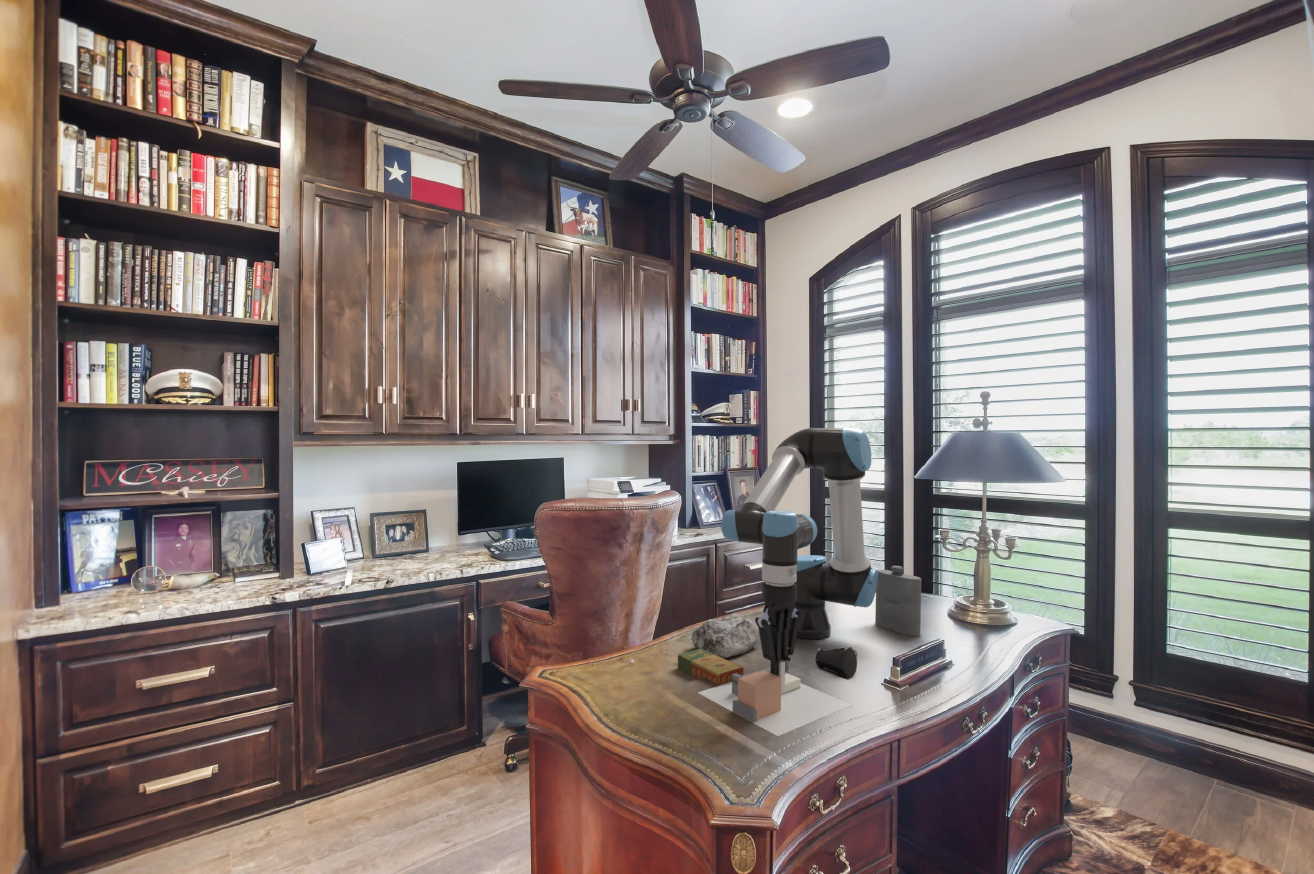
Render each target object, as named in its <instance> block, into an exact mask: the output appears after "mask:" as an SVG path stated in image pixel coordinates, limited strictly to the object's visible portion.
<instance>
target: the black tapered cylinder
mask: <svg viewBox="0 0 1314 874" xmlns="http://www.w3.org/2000/svg"><path fill="white" fill-rule="evenodd" d="M815 664H816V667H817V668H818V669H819V670H820V669H826V670H829V671H831V672H833V673H835V674H837V675H839V676H841V677H842V678H845V679H851V678H853V677H854V675H856V672H857V668H858V653H857V651H856V650H854V649H853V648H852V647H850V646H843V647H839V648H833V649H827V650H824V649H823V648H821V647H820V648H818V650H817V651H816V653H815Z"/></svg>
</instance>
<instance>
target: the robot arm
mask: <svg viewBox="0 0 1314 874" xmlns="http://www.w3.org/2000/svg"><path fill="white" fill-rule="evenodd" d="M773 451H774V452H773V453H772V456H771V462H770V464H769V465H768V466H767V467H766V469H765V471H764V472H763V474H762V476H760V478H759V480H758V481H757V483H756V484H755V486H754V488H753V489H752V490H751V492H750V493H749V495H748V496H747V498H746V500H745V501H744V502H743V504H741V506H740V508H739V509H738V510H737V509H728V510H726V511H725V512H724V513H723V515H722V517H721V521H720V529H721V533H722V536H723V537H724V538H725V539H726V540H730V541H734V542H737V543H746V544H747V543H749V544H755V545H756V544H758V545H762V559H761V560H762V561H761V562H762V563H761V564H762V565H761V566H762V567H761V580H763V582H762V584H761V599H762V601H764V607H763V609H762V610H763V613H762V615H761V616H760V617H758V616H757V617H755V619H754V623H755V624H756V627H757V628H758V633H759V634H758V635H759V640H760V644H761V645H760V646H761V650H762V656H763V658H764V659H765V660H767V661H770V667H771V671H770V673H772V674H774V675H776V676H779V677H781V678H782V679H781V692H784V691H785V674H786V661H789V662H791V659H792V658H791V657H792V656H793V655H794V654H795V653H794V652H795V646H796V641H797V640H796V639H798V638H799V639H808V640H809V639H810V640H818V639H825V638H828V637H829V636H831V633H832V629H831V628H832V626H831V624H830V621H829V617H828V613H827V609H826V602H828V603H836V604H840V605H846V606H852V607H853V608H857V607H858V608H869V607H870V606H871V605H872V604H873V602H874V599H875V598H876V589H877V583H878V571H877V570H878V569H877V568H875V567H872V566H871V564H872V563H871V560H870V558H869V557H867V555H865V543H864V542H865V539H864V527H863V525H864V524H863V523H864V522H863V508H862V492H861V491H862V489H861V480H862V479H863V478H864V477H865V476H866V471H869V470H870V469H871V465H872V447H871V443H870V440H869V438H868V435H867V434H866V433H865V431H863V430H862V429H860V428H849V427H822V428H821V427H820V428H819V427H809V428H804V429H801V430H798V431H797V432H795V433H793V434H791V435H790V436H788V437H786V438H785V439H784V440H783V441H781V442H780V443H779V445H778V446H777V447H776V449H774V450H773ZM805 469H820V470H822V471H821V472H822V477H823V478H824V479H825V480H826V481H827V482H828V491H829V504H830V506H829V507H830V516H831V517H830V518H831V530H832V531H831V532H832V544H833V556H832V557H831V558H830V559H829V561H827V558H826V556H824V555H812V554H811V555H800V556H798V551H799V550H800V549H803V548H806V547H808V546H810V544H811V543H813V542H814V541H815V539H816V538H817V535H818V526H817V523H816V522H815V521H814V519H813V518H812V517H811V516H809V515H806V514H803V513H802V514H799V513H795V512H794V511H790V510H789V511H788V510H776V509H777V507H778V505H779V504H780V502H781V500H782V498H783V497H784V496H785V493H786V492H787V490H788V489H789V487H790V485H791V484H792V482H793V480H794V479H795V477H797V476H798V475H800V474H801V473H802V472H803V471H804V470H805ZM790 656H791V657H790Z"/></svg>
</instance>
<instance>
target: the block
mask: <svg viewBox="0 0 1314 874" xmlns="http://www.w3.org/2000/svg"><path fill="white" fill-rule="evenodd" d="M781 679H782V678H781V677H779V676H776V675H774V674H772V673H769V672H767V671H765V670H763V671H760V672H757V673H754V674H750V675H747V676H744V677H741V678H738V700H739V701H741V702H743V703H745V704H746V705H748V706H750V707H752V708H754V709H756V710H757V719H760V718H763V717H765V716H768V715H770V714H773V713H776V712H778V711H781Z"/></svg>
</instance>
